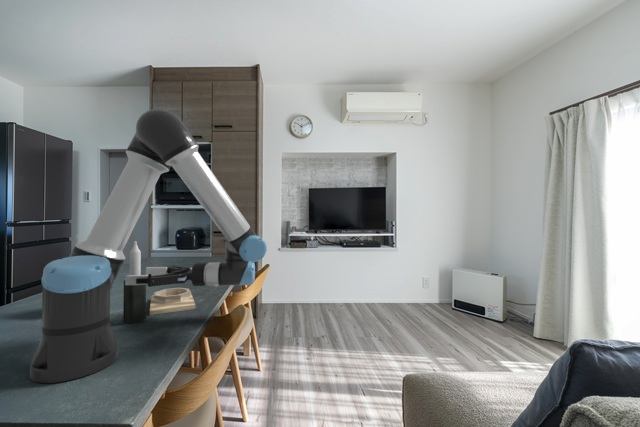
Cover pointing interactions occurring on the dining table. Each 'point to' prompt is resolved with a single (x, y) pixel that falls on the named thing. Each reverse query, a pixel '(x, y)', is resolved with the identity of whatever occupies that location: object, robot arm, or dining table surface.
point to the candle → (134, 291)
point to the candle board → (171, 301)
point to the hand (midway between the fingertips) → (136, 275)
